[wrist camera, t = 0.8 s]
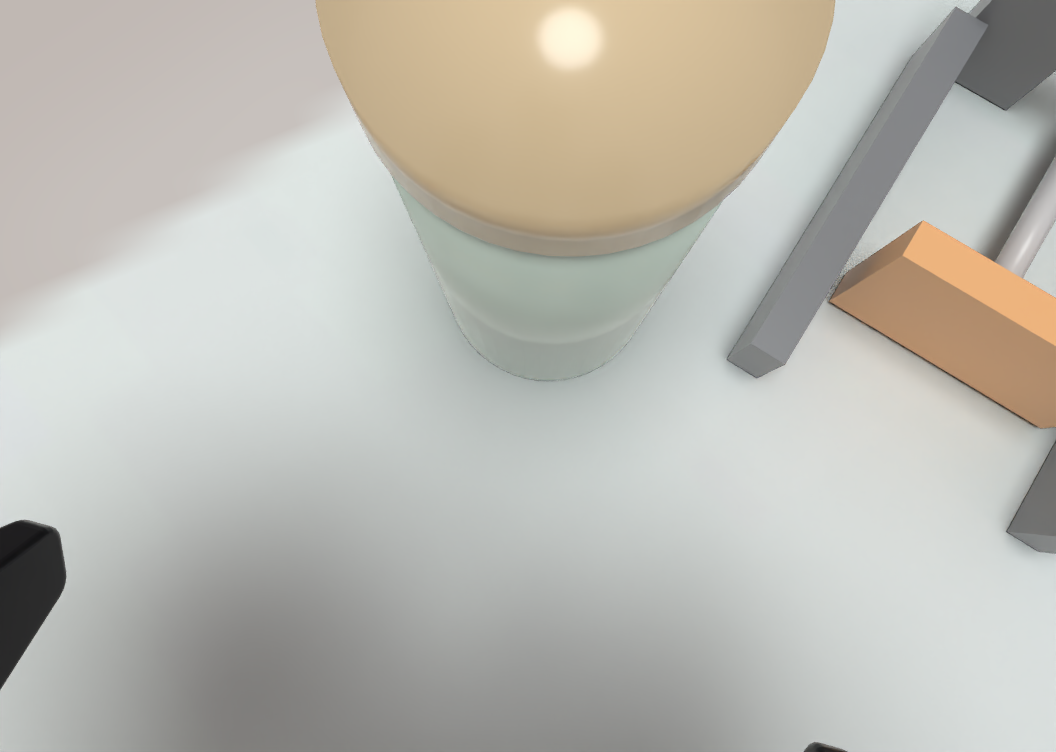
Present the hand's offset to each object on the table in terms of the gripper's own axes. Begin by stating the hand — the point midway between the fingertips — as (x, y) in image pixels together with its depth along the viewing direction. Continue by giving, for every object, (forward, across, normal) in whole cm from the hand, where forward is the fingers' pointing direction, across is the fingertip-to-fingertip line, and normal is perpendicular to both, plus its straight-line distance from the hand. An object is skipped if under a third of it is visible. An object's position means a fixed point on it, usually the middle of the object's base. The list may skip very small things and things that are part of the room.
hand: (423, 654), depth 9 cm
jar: (+15, 0, +2) cm, 15 cm away
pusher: (+18, -12, -1) cm, 21 cm away
